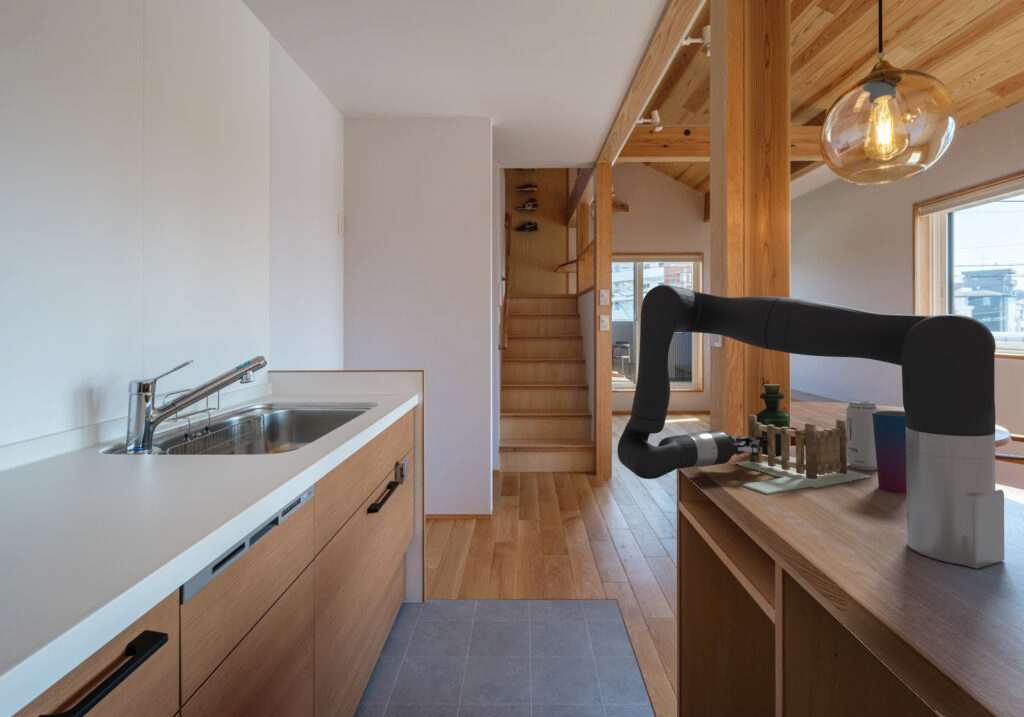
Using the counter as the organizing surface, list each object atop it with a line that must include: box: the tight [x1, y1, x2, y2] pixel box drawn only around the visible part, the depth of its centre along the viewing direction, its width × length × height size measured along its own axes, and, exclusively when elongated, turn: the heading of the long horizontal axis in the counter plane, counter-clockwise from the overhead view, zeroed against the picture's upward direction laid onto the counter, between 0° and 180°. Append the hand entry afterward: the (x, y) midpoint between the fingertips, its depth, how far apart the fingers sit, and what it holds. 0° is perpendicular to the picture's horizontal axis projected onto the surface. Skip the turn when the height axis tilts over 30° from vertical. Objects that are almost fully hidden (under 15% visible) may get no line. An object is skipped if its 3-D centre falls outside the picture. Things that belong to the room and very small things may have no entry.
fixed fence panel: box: [804, 418, 848, 479], centre depth 103 cm, size 2×11×12 cm, turn 109°
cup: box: [872, 410, 906, 494], centre depth 94 cm, size 7×7×15 cm
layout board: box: [735, 455, 871, 495], centre depth 108 cm, size 21×28×1 cm
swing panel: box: [747, 414, 806, 474], centre depth 110 cm, size 14×2×11 cm, turn 23°
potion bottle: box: [756, 383, 791, 456], centre depth 126 cm, size 8×8×18 cm
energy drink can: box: [845, 400, 880, 471], centre depth 110 cm, size 6×6×15 cm
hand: (765, 440), depth 112 cm, fingers closed
